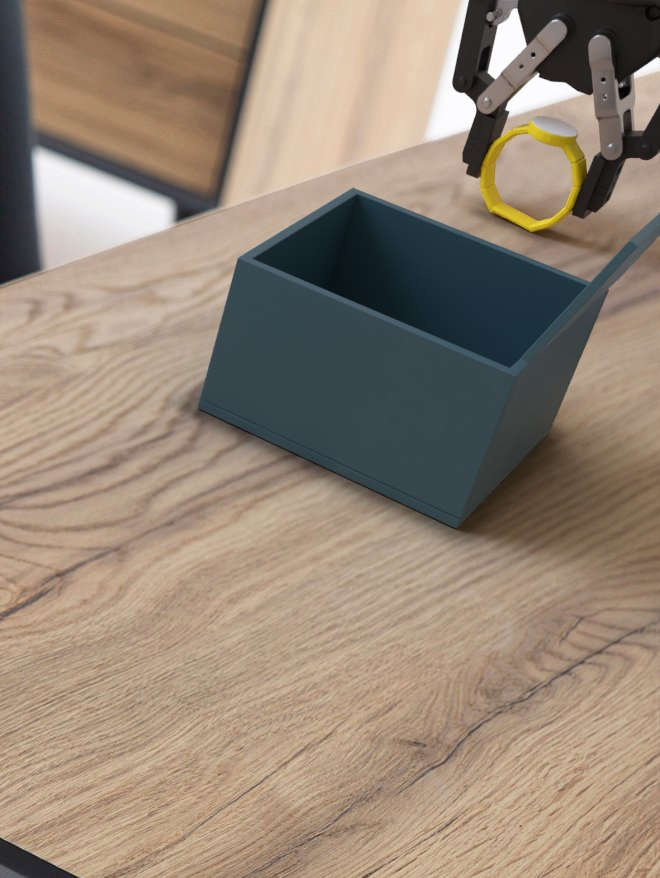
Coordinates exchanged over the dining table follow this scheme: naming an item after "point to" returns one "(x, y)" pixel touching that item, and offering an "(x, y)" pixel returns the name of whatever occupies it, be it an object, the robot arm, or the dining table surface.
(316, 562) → the dining table surface
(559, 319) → the flap
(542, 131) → the watch
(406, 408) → the carton
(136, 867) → the dining table surface
